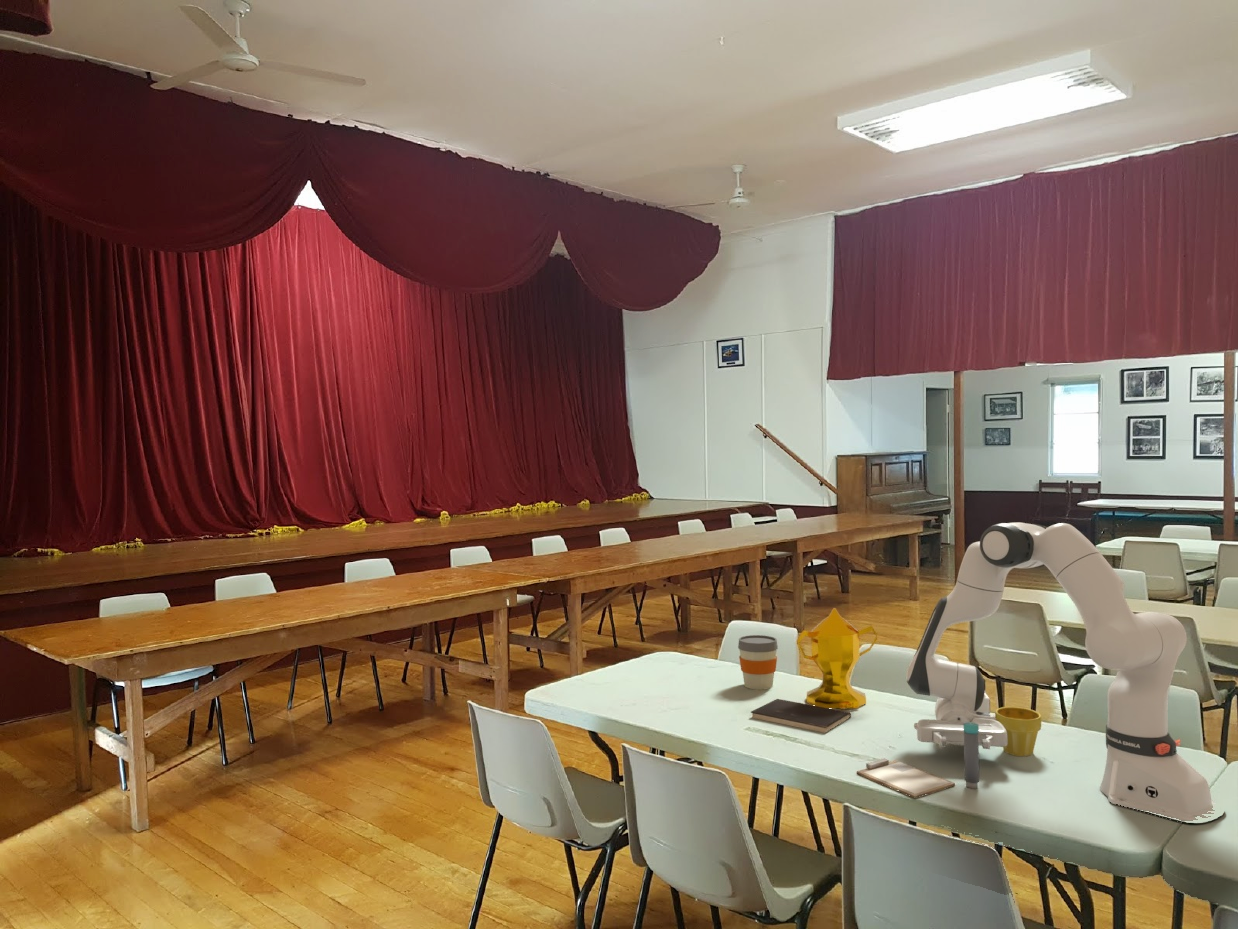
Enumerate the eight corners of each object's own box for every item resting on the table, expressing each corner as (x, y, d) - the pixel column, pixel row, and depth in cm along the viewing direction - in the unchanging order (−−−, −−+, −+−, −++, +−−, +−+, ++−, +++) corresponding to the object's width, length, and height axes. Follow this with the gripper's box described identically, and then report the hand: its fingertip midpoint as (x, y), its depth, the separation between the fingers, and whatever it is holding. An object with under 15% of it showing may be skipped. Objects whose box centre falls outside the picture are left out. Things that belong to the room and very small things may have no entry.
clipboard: (955, 785, 193) (954, 778, 193) (914, 798, 186) (914, 791, 186) (894, 762, 208) (894, 755, 208) (855, 773, 201) (855, 766, 201)
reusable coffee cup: (784, 683, 278) (783, 637, 278) (769, 693, 268) (768, 645, 267) (748, 678, 285) (747, 633, 285) (732, 688, 274) (731, 641, 274)
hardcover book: (825, 735, 230) (825, 726, 230) (750, 719, 244) (750, 711, 244) (851, 720, 242) (850, 711, 242) (778, 705, 257) (778, 698, 256)
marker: (982, 788, 191) (981, 725, 191) (973, 791, 190) (972, 728, 190) (970, 783, 194) (969, 721, 194) (961, 786, 193) (960, 724, 192)
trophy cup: (888, 708, 250) (886, 612, 249) (805, 712, 248) (803, 615, 247) (866, 691, 267) (865, 602, 266) (789, 695, 265) (787, 604, 265)
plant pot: (1039, 762, 206) (1038, 721, 206) (992, 755, 211) (992, 715, 211) (1043, 749, 215) (1043, 710, 214) (999, 742, 220) (998, 704, 220)
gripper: (913, 710, 215) (917, 728, 202) (1001, 715, 210) (1011, 733, 197) (913, 735, 216) (917, 754, 202) (1001, 740, 210) (1012, 760, 197)
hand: (964, 744), depth 199 cm, fingers open, 8 cm apart
